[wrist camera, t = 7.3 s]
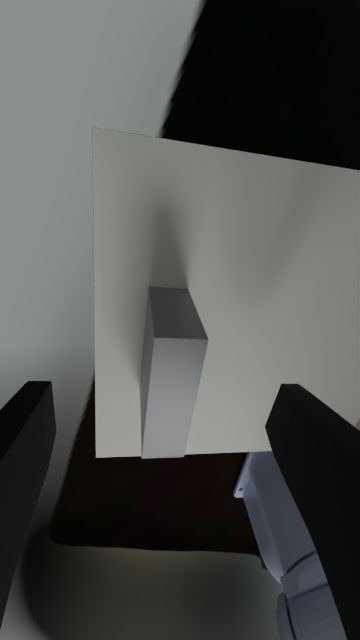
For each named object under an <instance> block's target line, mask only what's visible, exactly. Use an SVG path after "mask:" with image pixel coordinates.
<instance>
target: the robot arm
mask: <svg viewBox="0 0 360 640" xmlns="http://www.w3.org/2000/svg"><path fill="white" fill-rule="evenodd" d="M265 429H266V433H267V436H268V439H269V443H270V446H271V449H272V451H260V452H248V453H247V456H246V459H245V462H244V464H243V467H242V470H241V472H240V475H239V478H238V481H237V483H236V486H235V489H234V491H233V494H234V496H235V497H237V498H238V497H243V499H244V502H245V505H246V508H247V511H248V514H249V517H250V521H251V524H252V527H253V530H254V533H255V536H256V539H257V543H258V546H259V549H260V552H261V555H262V558H263V560H264V563H265V565H266V567H267V568H268V570H269V571H270V573H271V574H272V575H273V576H274V577H275V579H276V580H277V581H278V582H279V583H280V584H281V585H282V586H283V589H284V592H283V593H281V594H280V595H279V597H278V605H277V609H276V619H277V626H278V631H279V635H280V639H281V640H360V431H359V430H358V429H357V428H356V427H354V426H353V425H352V424H350V423H349V422H348V421H346V420H345V419H344V418H343V417H341V416H340V415H339V414H338V413H336V412H335V411H334V410H332V409H331V408H330V407H329V406H327V405H326V404H325V403H323V402H322V401H321V400H320V399H318V398H317V397H316V396H314V395H313V394H312V393H310V392H309V391H308V390H306V389H305V388H304V387H302V386H301V385H299V384H281V386H280V388H279V391H278V394H277V396H276V399H275V401H274V404H273V407H272V409H271V412H270V414H269V417H268V420H267V422H266V425H265ZM55 435H56V423H55V413H54V403H53V394H52V384H51V381H28V382H27V383H26V384H24V386H23V387H22V388H21V389H20V390H19V391H18V392H17V393H16V394H15V395H14V396H13V397H12V398H11V399H10V400H9V401H8V402H7V404H6V405H5V406H4V407H3V408H2V409H1V410H0V628H1V624H2V620H3V616H4V612H5V607H6V603H7V599H8V595H9V591H10V587H11V583H12V579H13V575H14V572H15V569H16V565H17V562H18V558H19V555H20V552H21V549H22V546H23V543H24V540H25V537H26V534H27V531H28V528H29V525H30V522H31V519H32V516H33V513H34V510H35V507H36V504H37V501H38V497H39V495H40V492H41V489H42V486H43V482H44V479H45V476H46V473H47V470H48V467H49V462H50V458H51V453H52V449H53V444H54V439H55Z"/></svg>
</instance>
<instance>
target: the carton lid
mask: <svg viewBox="0 0 360 640" xmlns="http://www.w3.org/2000/svg"><path fill="white" fill-rule="evenodd" d="M92 131H93V211H94V212H93V220H94V221H93V224H94V314H95V315H94V317H95V410H96V458H100V457H127V456H142V458H168V457H184V454H207V453H233V452H260V451H272V449H271V446H270V443H269V439H268V436H267V433H266V429H265V425H266V422H267V420H268V417H269V414H270V412H271V409H272V407H273V404H274V401H275V399H276V396H277V394H278V391H279V388H280V386H281V384H299V385H301V386H302V387H304V388H305V389H306V390H308V391H309V392H310V393H312V394H313V395H314V396H316V397H317V398H318V399H320V400H321V401H322V402H323V403H325V404H326V405H327V406H329V407H330V408H331V409H332V410H334V411H335V412H336V413H338V414H339V415H340V416H341V417H343V418H344V419H345V420H346V421H348V422H349V423H350V424H352V425H353V426H354V427H355V425H356V423H357V422H358V420H359V418H360V171H359V170H353V169H347V168H341V167H335V166H329V165H323V164H316V163H310V162H304V161H298V160H292V159H286V158H280V157H273V156H267V155H261V154H255V153H249V152H243V151H237V150H230V149H224V148H218V147H212V146H206V145H200V144H194V143H187V142H181V141H175V140H169V139H163V138H157V137H151V136H144V135H137V134H132V133H125V132H120V131H114V130H107V129H101V128H95V127H93V129H92Z"/></svg>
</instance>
